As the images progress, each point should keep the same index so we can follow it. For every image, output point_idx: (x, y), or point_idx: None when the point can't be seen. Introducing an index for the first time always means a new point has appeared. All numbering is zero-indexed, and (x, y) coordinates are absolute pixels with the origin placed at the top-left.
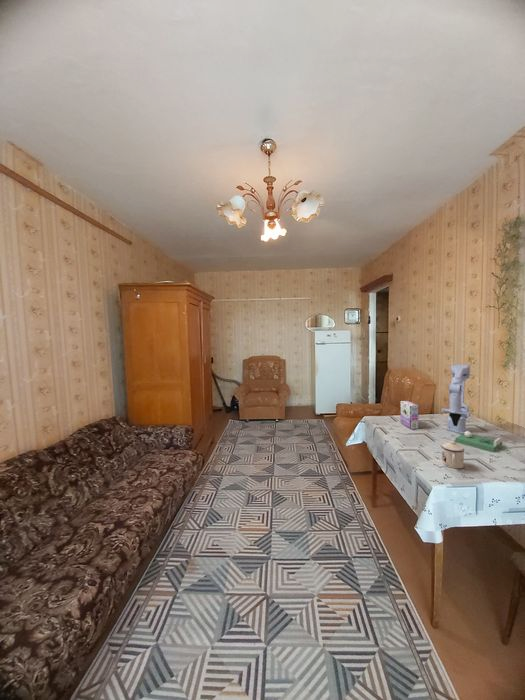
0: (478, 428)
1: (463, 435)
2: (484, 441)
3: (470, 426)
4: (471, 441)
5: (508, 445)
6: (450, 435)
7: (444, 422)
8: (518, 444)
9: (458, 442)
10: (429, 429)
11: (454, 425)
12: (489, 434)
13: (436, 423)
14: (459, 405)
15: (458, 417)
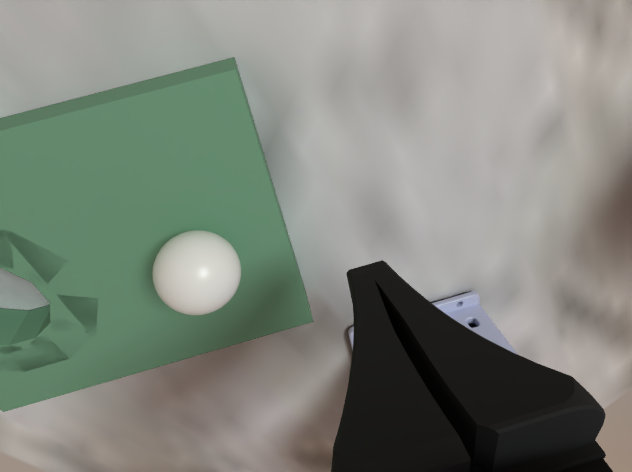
0: None
1: (265, 252)
2: (54, 300)
3: None
4: (49, 155)
5: None
6: (393, 208)
7: None
8: (30, 460)
9: (195, 68)
10: (600, 172)
11: (370, 267)
12: (252, 442)
13: (581, 331)
14: None
15: (337, 447)
